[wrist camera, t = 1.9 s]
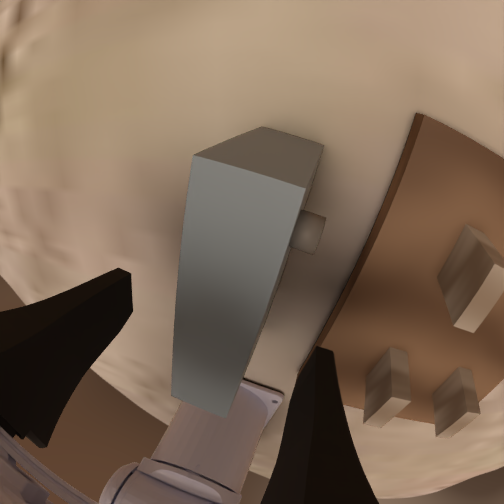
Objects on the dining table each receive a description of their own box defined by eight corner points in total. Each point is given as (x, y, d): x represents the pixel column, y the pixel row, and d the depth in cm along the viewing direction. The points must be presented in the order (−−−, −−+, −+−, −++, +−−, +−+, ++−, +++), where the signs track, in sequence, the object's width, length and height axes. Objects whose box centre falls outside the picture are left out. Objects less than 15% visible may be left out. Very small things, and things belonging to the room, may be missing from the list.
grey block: (274, 333, 19) (240, 424, 13) (219, 312, 20) (171, 395, 14) (340, 151, 13) (337, 199, 7) (261, 126, 13) (193, 154, 8)
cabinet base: (448, 411, 19) (452, 462, 14) (297, 373, 20) (282, 432, 16) (587, 228, 9) (629, 271, 5) (416, 113, 11) (453, 122, 7)
